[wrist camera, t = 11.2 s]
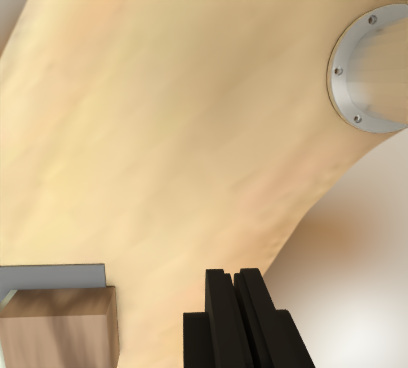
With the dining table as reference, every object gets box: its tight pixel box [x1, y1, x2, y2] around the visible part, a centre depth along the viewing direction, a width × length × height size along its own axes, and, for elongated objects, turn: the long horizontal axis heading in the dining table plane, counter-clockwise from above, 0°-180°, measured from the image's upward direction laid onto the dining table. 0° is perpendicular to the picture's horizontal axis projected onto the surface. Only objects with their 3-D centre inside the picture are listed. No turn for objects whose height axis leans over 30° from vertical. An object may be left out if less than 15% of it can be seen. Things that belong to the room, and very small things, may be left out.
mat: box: [0, 264, 106, 303], centre depth 41 cm, size 15×16×2 cm
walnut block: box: [0, 287, 120, 368], centre depth 39 cm, size 5×10×12 cm
